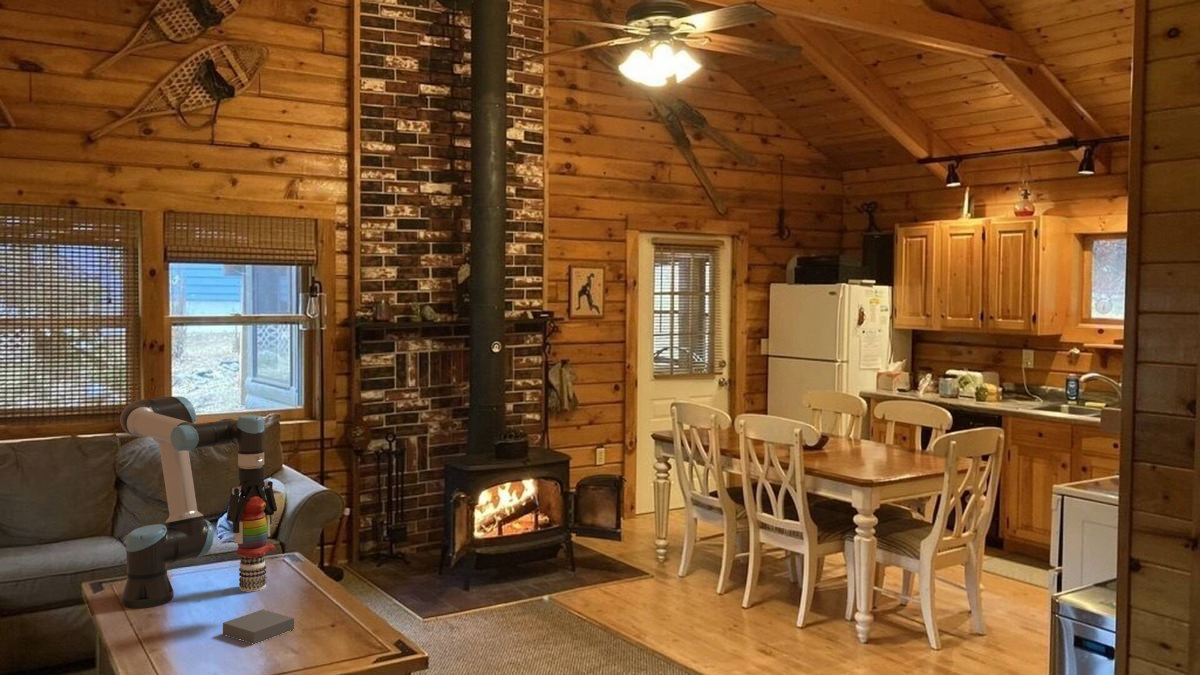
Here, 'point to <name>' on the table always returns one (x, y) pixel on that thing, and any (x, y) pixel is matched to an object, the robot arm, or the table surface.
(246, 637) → the gray block
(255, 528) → the stacking bear
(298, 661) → the table surface
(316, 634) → the table surface
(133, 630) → the table surface
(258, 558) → the decorative candle
